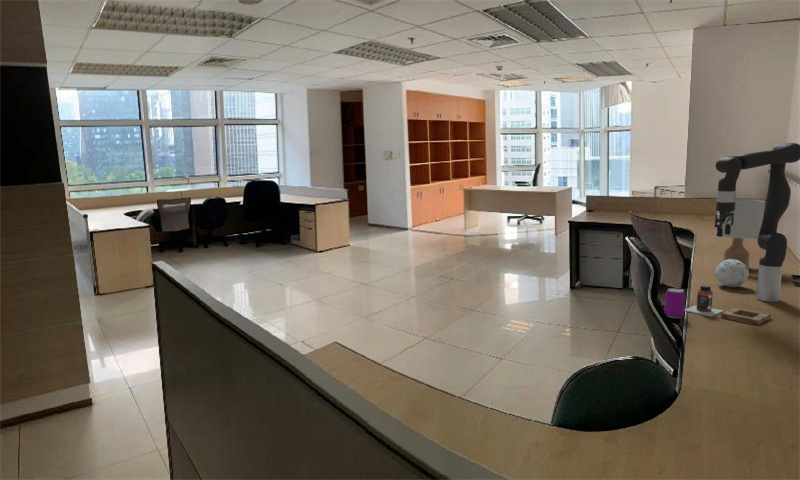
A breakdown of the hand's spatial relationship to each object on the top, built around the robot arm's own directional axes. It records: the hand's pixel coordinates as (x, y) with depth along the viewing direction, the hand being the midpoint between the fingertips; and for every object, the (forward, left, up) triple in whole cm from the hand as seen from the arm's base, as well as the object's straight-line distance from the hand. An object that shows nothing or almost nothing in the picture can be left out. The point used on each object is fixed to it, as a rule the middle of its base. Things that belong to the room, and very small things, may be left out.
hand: (723, 235), depth 245 cm
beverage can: (+35, -4, -33) cm, 48 cm away
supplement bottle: (+18, +1, -33) cm, 37 cm away
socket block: (+15, +17, -33) cm, 40 cm away
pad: (+18, +1, -33) cm, 38 cm away
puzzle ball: (-40, -10, -33) cm, 53 cm away
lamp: (-94, -28, -33) cm, 104 cm away
